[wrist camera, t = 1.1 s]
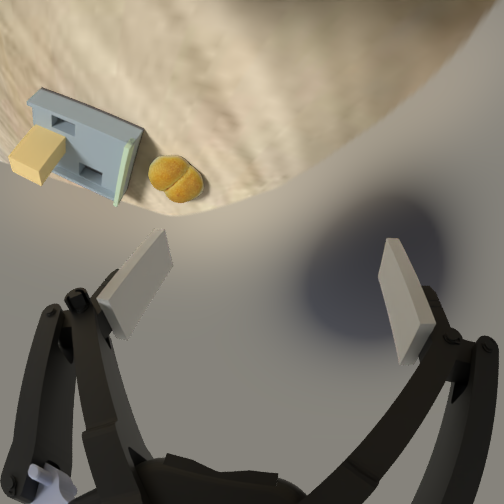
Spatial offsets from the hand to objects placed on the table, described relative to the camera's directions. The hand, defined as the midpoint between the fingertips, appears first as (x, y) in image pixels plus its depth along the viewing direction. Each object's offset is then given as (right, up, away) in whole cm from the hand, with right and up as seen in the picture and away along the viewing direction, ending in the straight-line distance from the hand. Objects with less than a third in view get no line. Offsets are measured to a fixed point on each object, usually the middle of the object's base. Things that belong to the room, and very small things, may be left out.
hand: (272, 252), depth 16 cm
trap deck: (-29, +18, +22) cm, 40 cm away
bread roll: (-13, +13, +26) cm, 32 cm away
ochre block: (-34, +19, +18) cm, 43 cm away
